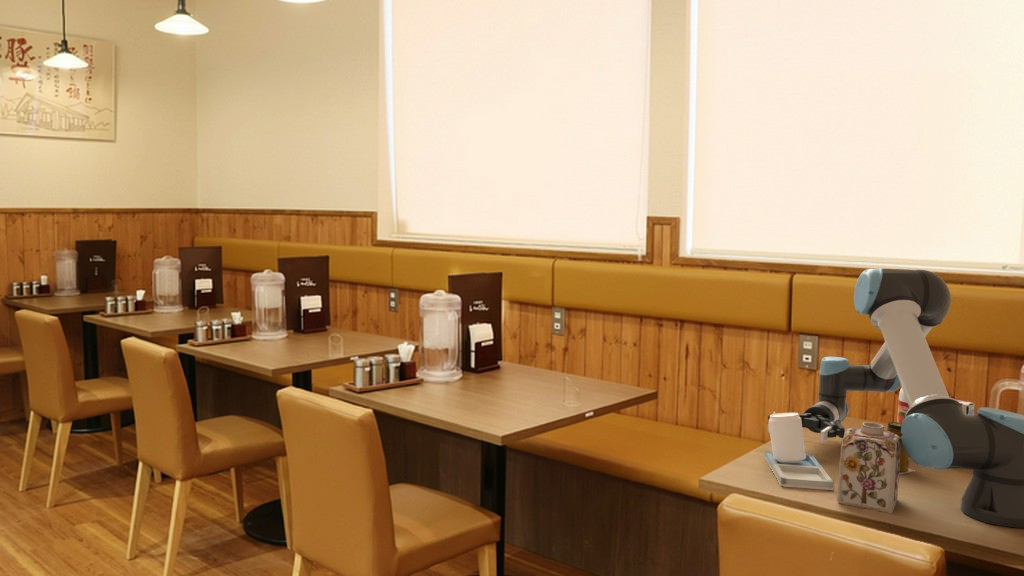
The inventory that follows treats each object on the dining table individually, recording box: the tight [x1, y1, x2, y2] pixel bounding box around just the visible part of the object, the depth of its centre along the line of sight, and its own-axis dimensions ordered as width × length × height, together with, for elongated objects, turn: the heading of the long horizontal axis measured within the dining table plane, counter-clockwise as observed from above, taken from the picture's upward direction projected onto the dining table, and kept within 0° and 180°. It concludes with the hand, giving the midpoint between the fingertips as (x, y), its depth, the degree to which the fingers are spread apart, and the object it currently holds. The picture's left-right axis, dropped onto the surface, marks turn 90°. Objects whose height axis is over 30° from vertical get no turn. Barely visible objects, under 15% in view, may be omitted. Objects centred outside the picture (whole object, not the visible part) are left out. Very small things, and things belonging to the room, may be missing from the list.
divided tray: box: [764, 451, 834, 491], centre depth 209 cm, size 23×12×2 cm, turn 172°
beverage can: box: [769, 412, 806, 463], centre depth 215 cm, size 8×8×12 cm
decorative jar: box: [836, 421, 901, 514], centre depth 189 cm, size 12×12×18 cm
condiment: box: [886, 421, 916, 476], centre depth 215 cm, size 7×8×12 cm
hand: (795, 431), depth 215 cm, fingers open, 13 cm apart
